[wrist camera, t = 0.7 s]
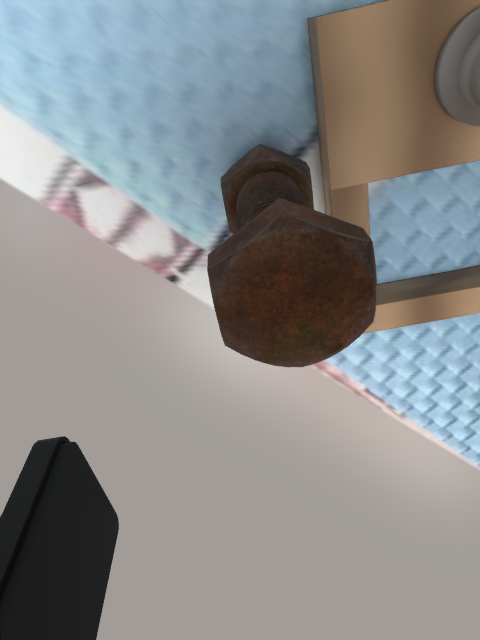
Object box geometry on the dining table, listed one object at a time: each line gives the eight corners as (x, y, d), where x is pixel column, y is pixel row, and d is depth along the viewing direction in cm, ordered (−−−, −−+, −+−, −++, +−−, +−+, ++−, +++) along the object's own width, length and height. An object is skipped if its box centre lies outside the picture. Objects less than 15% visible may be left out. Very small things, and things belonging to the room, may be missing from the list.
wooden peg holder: (555, -39, 22) (732, -74, 14) (509, 285, 31) (600, 367, 24) (307, 18, 23) (350, 14, 15) (335, 316, 32) (370, 405, 25)
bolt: (308, 213, 28) (377, 363, 16) (227, 227, 29) (232, 385, 16) (298, 112, 25) (376, 198, 12) (208, 129, 25) (195, 230, 13)
